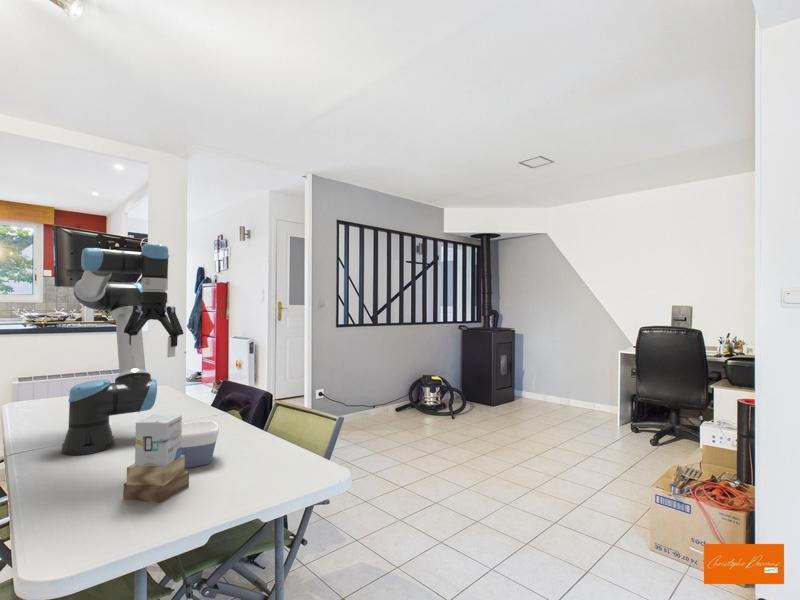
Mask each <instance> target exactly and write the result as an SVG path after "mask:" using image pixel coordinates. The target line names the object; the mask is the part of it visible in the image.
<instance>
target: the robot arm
mask: <svg viewBox="0 0 800 600" xmlns="http://www.w3.org/2000/svg"><path fill="white" fill-rule="evenodd" d="M80 256H81V257H80V258H81V262H80V263H81V269H82V270H83V273H82V275H81V279H79V280H78V281H77V282H76V283H75V284H74V287H73V296H74V298H75V299H76V300H77V302H78V303H80V304H81V305H82V306H84V307H86V308H88V309H91V310H95V311H103V312H104V311H109V312H110V316H111V317H112V318H114V319H115V326H116V327H115V328H116V342H117V343H116V344H117V358H118V372H119V373H118V375H117V376H116V377H115V379H114V382H111V380H110V379H104V378H103V379H95V380H90V381H85V382H80V383H79V384H76V385H73V386H72V387H71V388H70V389H69V397H68V403H69V405H68V430H67V432H66V434H65V436H64V437H65V438H64V440H63V443H62V444H61V454H63V455H66V456H69V455H70V456H80V455H88V454H93V453H98V452H102V451H106V450H108V449H110V448H112V447H114V445H115V436H114V435H113V431H112V428H111V426H110V417H111V416H119V415H124V414H133V413H140V412H145V411H149V410H151V409H153V407H154V406H155V403H156V400H157V393H158V382H157V379H156V378H152V376H151V373H150V372H149V371H147V370H146V369H147V368H146V361H145V351H144V349H145V348H144V340H143V339H144V337H143V327H144V326H145V325H146V323H147V322H148V321H150V320H152V321H156V320H157V321H158V322H160V323H161V325H162V326H163V328H164V330H165V331H166V332H167V333H168V335H169V336H167V353H166V354H167V355H166V356H167V358H173V357H176V347H177V346H178V337H179V336H182V335H184V330H183V328H182V325H181V323H180V320H179V318H178V316H177V314H176V307H175V306H174V305H173V306H172V305H171V306H170V305H169V306H167V304H168V293H167V292H166V291H168V288H169V284H168V283H169V282H168V281H169V280H168V278H169V277H168V276H169V275H168V274H169V257H170V254H169V248H168V246H167V245H164V244H158V243H145V244H143V245H142V249H141V251H131V250H121V249H120V250H119V249H118V250H117V249H111V248H108V249H107V248H99V247H86V248H83V249H82V250H81V255H80ZM115 273H116V274H135V275H141V283H140V282H139V283H138V282H133V281H132V282H131V281H129V282H124V281H122V282H121V281H109V280H110V278H111V277H112V274H115Z"/></svg>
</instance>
